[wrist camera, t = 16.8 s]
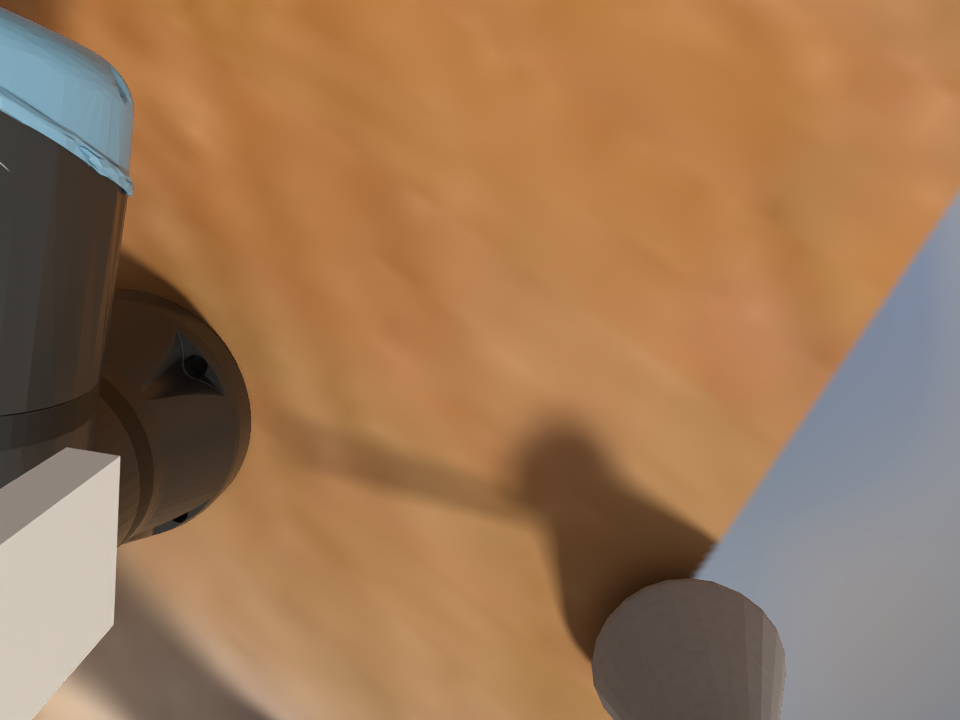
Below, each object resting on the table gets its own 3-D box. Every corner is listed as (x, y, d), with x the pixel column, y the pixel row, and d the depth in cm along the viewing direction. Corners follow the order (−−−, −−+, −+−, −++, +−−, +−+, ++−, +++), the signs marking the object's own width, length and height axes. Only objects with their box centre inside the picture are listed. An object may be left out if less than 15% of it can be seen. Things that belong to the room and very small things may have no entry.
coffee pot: (778, 560, 45) (897, 740, 30) (761, 720, 48) (863, 955, 33) (435, 549, 46) (391, 715, 32) (438, 704, 49) (398, 923, 34)
